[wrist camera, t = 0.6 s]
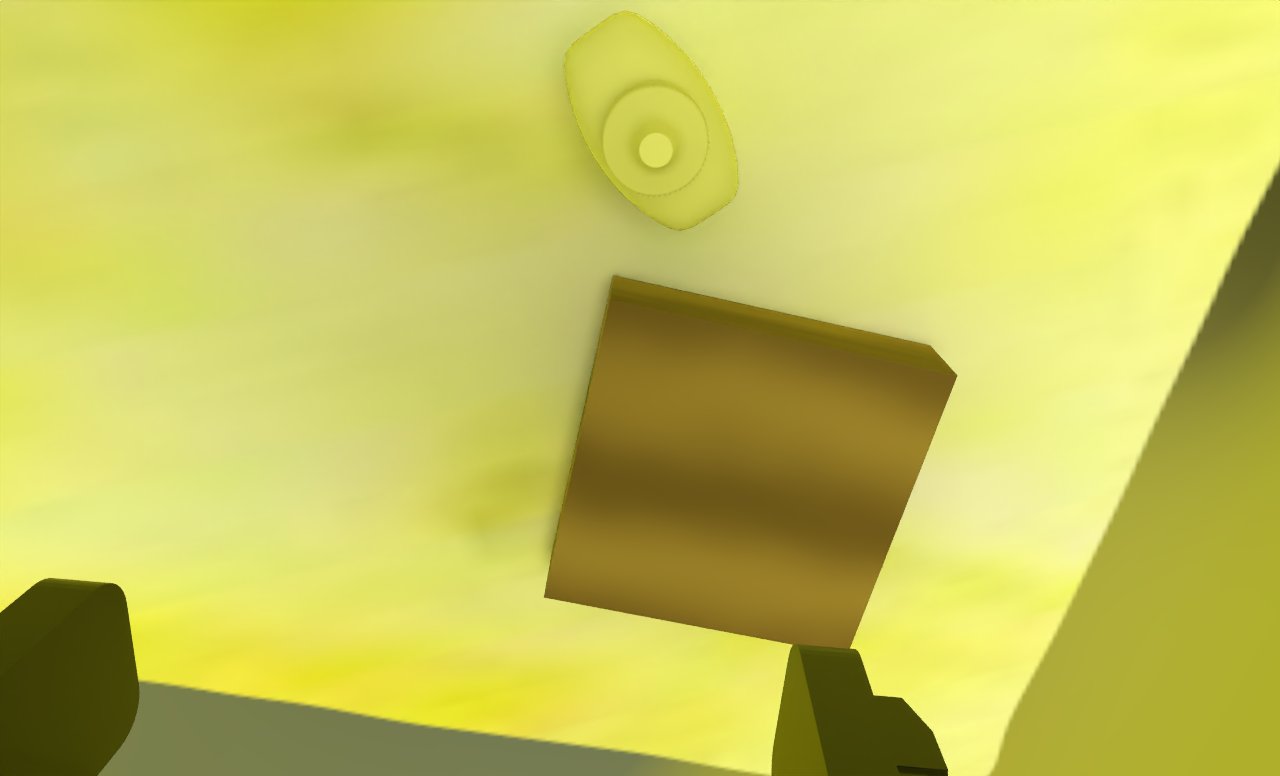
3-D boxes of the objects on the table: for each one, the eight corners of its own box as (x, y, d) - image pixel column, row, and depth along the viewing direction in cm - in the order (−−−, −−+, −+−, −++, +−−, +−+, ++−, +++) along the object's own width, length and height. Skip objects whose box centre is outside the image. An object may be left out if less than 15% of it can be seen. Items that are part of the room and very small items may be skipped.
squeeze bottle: (712, 6, 28) (759, -9, 17) (720, 184, 30) (765, 275, 19) (576, 18, 28) (533, 10, 17) (594, 194, 30) (565, 290, 19)
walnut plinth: (613, 275, 31) (610, 299, 28) (930, 345, 32) (957, 375, 29) (551, 553, 36) (544, 597, 33) (831, 607, 37) (847, 654, 34)
